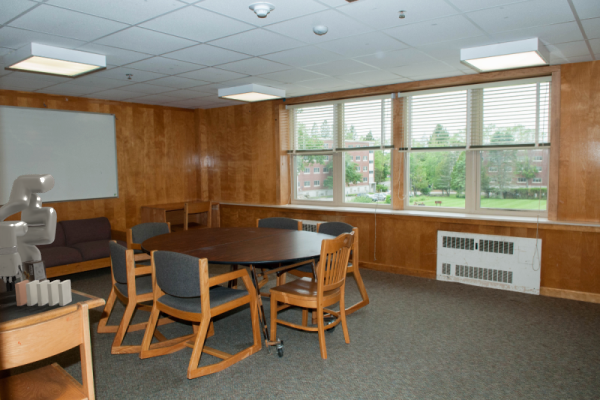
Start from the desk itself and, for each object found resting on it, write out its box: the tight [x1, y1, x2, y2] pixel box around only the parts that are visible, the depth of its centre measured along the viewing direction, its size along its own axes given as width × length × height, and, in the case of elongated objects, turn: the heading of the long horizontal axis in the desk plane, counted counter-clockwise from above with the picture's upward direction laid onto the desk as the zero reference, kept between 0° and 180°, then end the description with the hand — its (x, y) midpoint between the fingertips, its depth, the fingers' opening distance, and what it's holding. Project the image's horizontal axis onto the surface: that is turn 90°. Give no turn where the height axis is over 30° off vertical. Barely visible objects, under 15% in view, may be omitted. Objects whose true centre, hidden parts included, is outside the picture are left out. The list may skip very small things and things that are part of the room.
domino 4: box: [47, 279, 61, 307], centre depth 186 cm, size 2×6×10 cm, turn 176°
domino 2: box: [26, 280, 39, 307], centre depth 186 cm, size 2×6×10 cm, turn 176°
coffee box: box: [22, 259, 48, 283], centre depth 201 cm, size 9×6×16 cm
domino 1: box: [15, 280, 29, 307], centre depth 187 cm, size 2×6×10 cm, turn 176°
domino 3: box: [36, 279, 50, 307], centre depth 186 cm, size 2×6×10 cm, turn 176°
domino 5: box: [58, 279, 73, 307], centre depth 185 cm, size 2×6×10 cm, turn 176°
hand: (11, 290), depth 187 cm, fingers closed
